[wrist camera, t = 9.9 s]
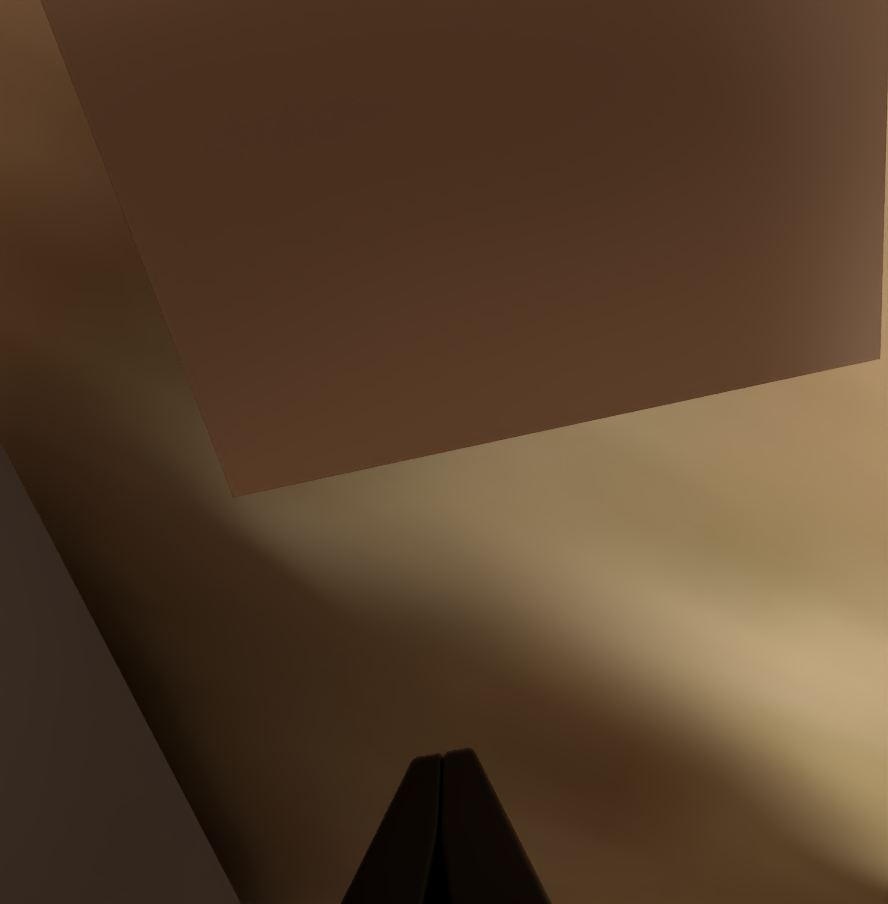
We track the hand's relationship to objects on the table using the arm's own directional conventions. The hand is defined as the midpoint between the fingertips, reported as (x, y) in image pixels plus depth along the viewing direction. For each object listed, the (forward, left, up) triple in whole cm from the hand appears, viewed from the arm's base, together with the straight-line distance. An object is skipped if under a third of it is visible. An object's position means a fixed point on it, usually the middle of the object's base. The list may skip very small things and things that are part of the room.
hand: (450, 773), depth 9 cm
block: (+8, -2, -2) cm, 8 cm away
